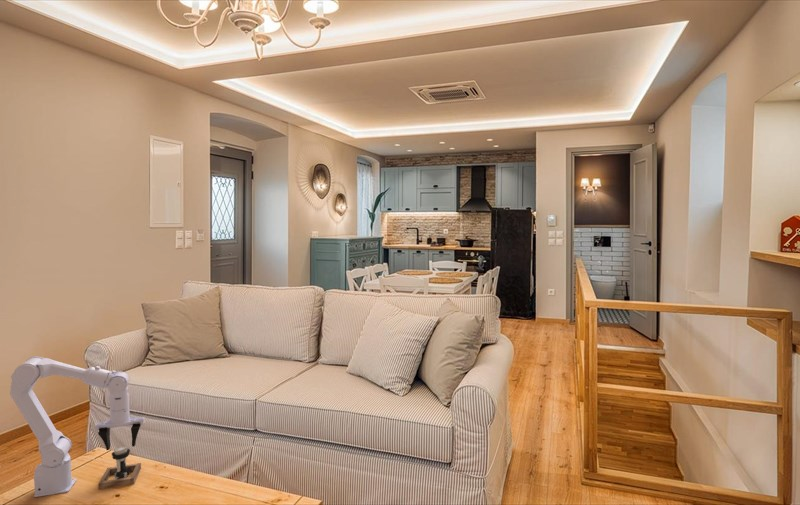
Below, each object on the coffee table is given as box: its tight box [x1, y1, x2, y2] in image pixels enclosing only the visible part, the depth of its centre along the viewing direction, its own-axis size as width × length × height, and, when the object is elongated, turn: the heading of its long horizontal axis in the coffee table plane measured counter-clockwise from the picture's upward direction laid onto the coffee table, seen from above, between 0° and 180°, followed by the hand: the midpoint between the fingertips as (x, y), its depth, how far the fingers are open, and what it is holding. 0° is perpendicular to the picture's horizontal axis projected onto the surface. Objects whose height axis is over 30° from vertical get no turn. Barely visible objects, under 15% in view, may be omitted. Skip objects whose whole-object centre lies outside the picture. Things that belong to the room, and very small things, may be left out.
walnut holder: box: [97, 462, 142, 491], centre depth 161 cm, size 10×11×2 cm
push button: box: [111, 446, 131, 480], centre depth 160 cm, size 7×5×10 cm
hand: (121, 447), depth 161 cm, fingers open, 7 cm apart
